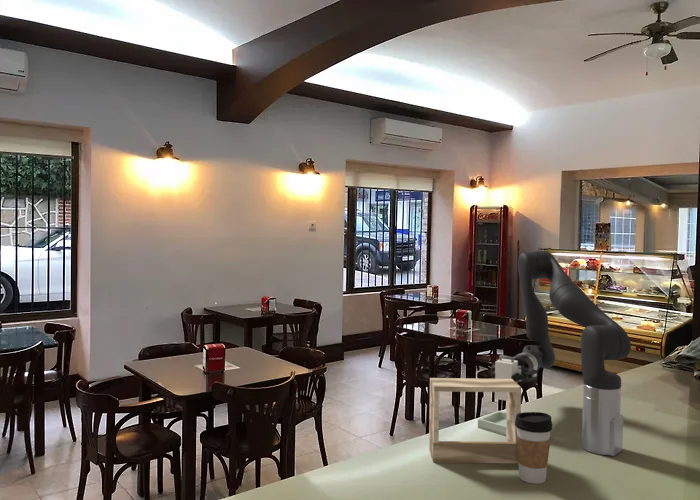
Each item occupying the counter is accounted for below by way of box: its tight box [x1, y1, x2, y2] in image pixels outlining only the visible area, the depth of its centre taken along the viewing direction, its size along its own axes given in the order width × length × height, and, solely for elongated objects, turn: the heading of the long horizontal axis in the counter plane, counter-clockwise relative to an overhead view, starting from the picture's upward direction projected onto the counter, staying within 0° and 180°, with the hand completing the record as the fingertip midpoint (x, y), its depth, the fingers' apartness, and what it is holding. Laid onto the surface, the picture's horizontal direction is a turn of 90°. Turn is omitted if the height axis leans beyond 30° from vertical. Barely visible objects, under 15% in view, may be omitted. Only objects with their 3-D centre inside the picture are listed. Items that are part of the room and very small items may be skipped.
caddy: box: [494, 354, 518, 402], centre depth 167 cm, size 5×5×13 cm
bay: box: [428, 377, 522, 464], centre depth 146 cm, size 8×22×19 cm, turn 90°
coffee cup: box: [515, 411, 553, 485], centre depth 133 cm, size 8×8×15 cm
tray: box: [477, 410, 507, 437], centre depth 167 cm, size 12×12×2 cm
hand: (503, 378), depth 165 cm, fingers closed on caddy, 5 cm apart
